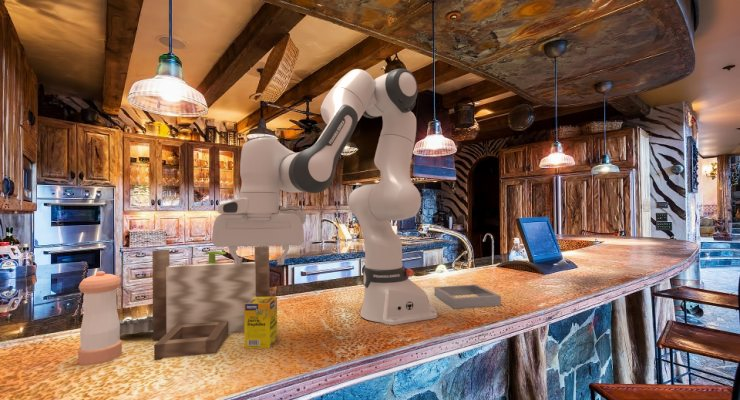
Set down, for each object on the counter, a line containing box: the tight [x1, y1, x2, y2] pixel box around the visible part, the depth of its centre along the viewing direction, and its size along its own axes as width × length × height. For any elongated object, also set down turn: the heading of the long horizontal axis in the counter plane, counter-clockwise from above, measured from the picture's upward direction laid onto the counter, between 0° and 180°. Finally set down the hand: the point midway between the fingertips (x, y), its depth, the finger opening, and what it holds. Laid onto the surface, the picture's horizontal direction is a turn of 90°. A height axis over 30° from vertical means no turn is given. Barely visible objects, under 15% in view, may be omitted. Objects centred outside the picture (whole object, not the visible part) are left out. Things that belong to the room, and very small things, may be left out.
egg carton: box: [119, 315, 153, 336], centre depth 86 cm, size 11×8×4 cm
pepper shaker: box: [77, 270, 123, 366], centre depth 72 cm, size 7×7×19 cm
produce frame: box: [433, 284, 502, 310], centre depth 113 cm, size 16×16×3 cm
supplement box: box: [243, 296, 278, 349], centre depth 78 cm, size 6×6×11 cm
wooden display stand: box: [151, 246, 270, 361], centre depth 80 cm, size 28×16×22 cm, turn 101°
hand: (259, 265), depth 78 cm, fingers open, 8 cm apart
